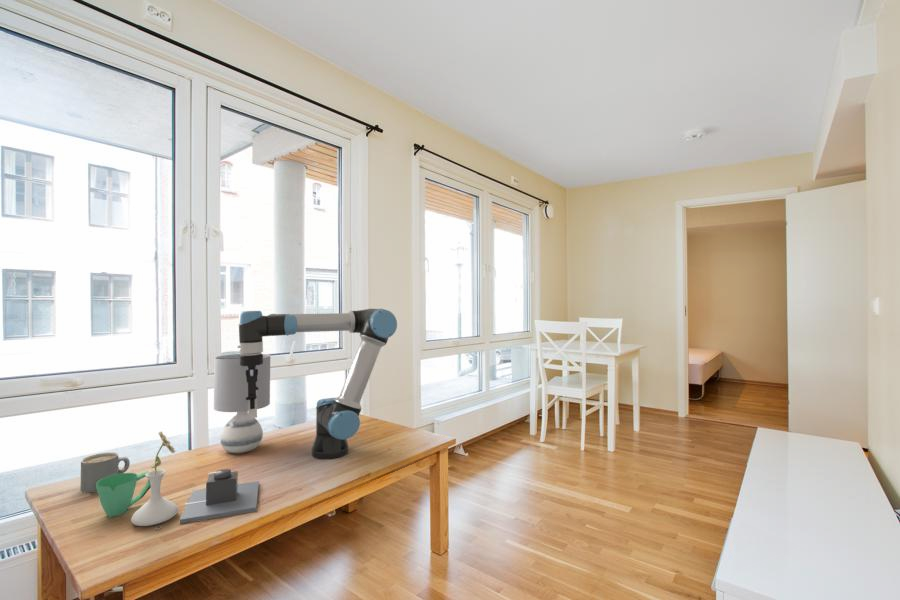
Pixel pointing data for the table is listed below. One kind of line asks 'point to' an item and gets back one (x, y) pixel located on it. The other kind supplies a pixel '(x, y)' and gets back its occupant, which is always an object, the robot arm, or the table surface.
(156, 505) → the flower in vase
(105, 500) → the mug
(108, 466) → the coffee mug
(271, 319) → the robot arm
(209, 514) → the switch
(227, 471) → the knob
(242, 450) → the lamp
